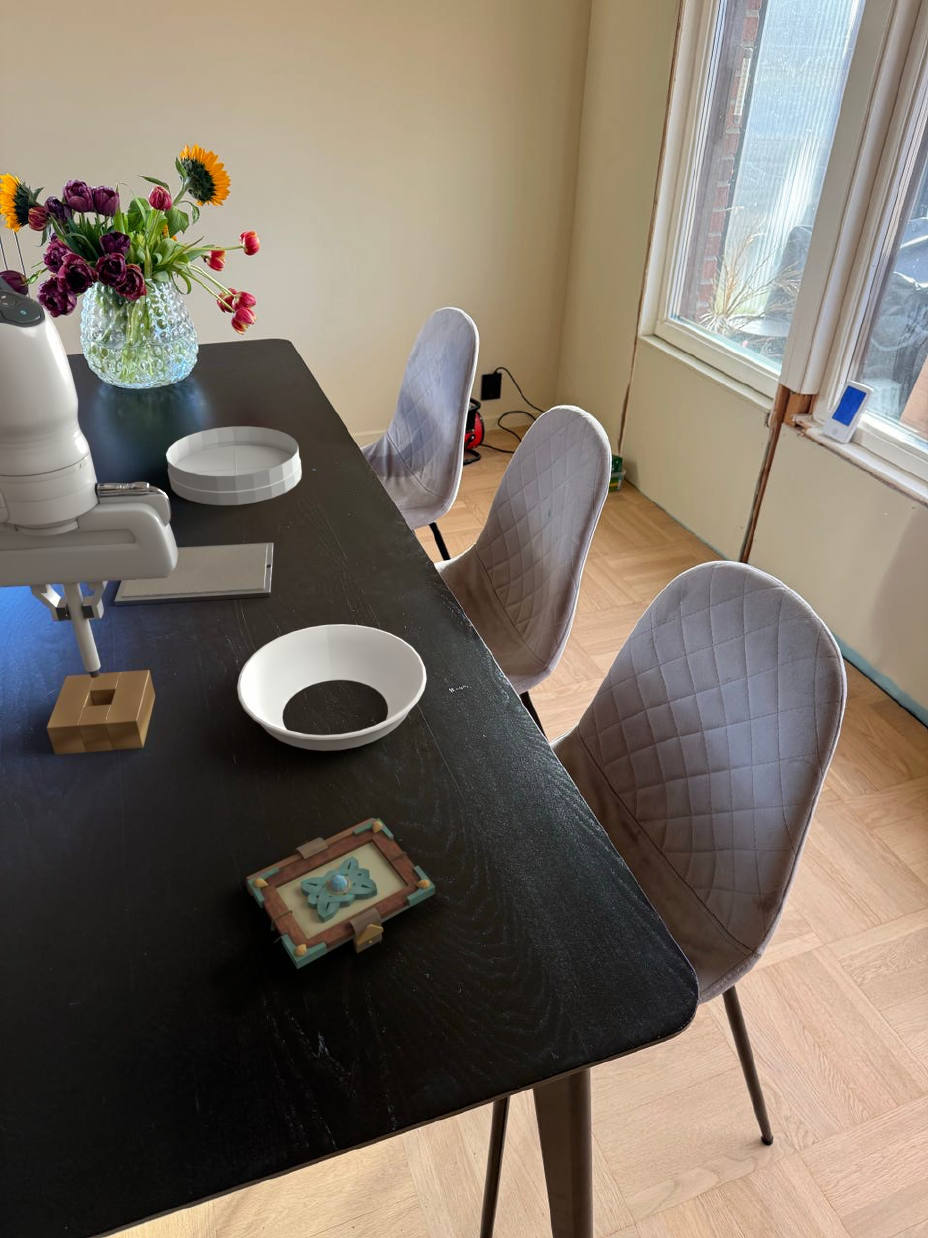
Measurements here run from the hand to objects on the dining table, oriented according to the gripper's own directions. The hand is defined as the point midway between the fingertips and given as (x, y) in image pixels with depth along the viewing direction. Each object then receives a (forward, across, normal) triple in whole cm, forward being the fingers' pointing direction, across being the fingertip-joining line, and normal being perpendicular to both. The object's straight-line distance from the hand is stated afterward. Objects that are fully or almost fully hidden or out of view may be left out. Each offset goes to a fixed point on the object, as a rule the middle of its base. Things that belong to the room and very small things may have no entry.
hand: (79, 617), depth 83 cm
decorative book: (+15, -22, +28) cm, 39 cm away
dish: (+15, -9, -66) cm, 68 cm away
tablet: (+15, -6, -33) cm, 37 cm away
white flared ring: (+15, -24, +1) cm, 28 cm away
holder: (+15, 0, 0) cm, 15 cm away
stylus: (+7, 0, 0) cm, 7 cm away
